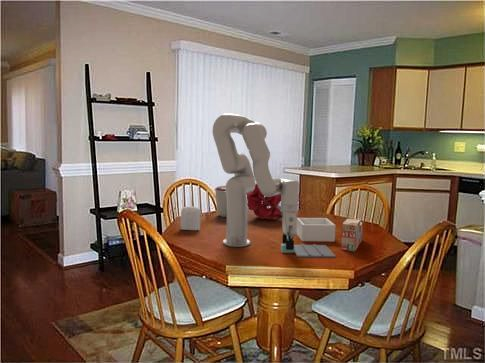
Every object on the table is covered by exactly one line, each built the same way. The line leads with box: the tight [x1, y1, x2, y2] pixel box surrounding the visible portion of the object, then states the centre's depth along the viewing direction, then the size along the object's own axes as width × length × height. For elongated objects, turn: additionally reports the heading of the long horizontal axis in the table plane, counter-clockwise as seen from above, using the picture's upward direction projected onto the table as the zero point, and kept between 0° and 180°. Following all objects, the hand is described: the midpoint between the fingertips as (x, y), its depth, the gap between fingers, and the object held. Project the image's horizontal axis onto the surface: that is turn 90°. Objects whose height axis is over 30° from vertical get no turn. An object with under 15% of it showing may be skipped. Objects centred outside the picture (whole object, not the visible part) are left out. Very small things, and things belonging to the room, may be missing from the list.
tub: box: [296, 217, 337, 242], centre depth 205 cm, size 16×16×8 cm
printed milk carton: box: [340, 218, 364, 252], centre depth 192 cm, size 21×6×12 cm, turn 156°
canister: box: [214, 185, 227, 218], centre depth 250 cm, size 18×18×21 cm
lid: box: [280, 243, 337, 258], centre depth 180 cm, size 22×16×3 cm
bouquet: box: [246, 183, 283, 220], centre depth 247 cm, size 22×24×30 cm
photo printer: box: [180, 205, 201, 232], centre depth 214 cm, size 10×4×12 cm, turn 84°
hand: (287, 246), depth 179 cm, fingers open, 9 cm apart
